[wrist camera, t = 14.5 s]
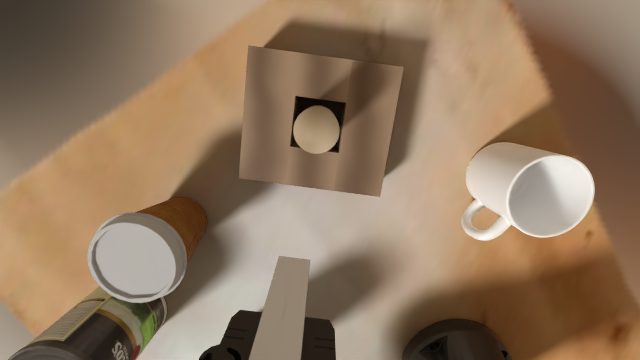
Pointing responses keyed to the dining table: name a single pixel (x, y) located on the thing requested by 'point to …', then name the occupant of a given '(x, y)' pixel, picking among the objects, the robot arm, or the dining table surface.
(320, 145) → the peg
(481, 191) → the cup
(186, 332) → the dining table surface
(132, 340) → the coffee can
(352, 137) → the board
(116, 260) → the disposable coffee cup
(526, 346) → the dining table surface
